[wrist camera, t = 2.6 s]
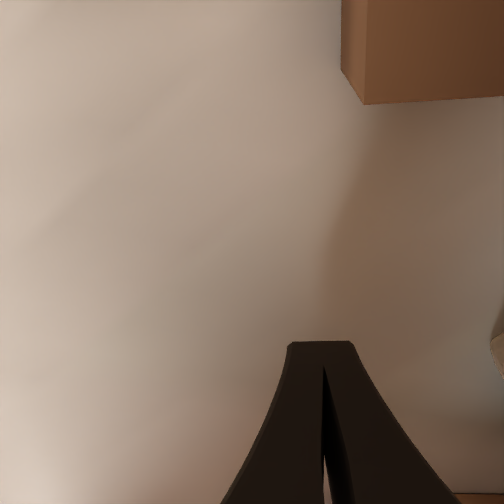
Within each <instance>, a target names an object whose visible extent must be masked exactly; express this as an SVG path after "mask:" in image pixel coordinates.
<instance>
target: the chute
mask: <svg viewBox="0 0 504 504" xmlns="http://www.w3.org/2000/svg"><path fill="white" fill-rule="evenodd" d="M341 71H342V72H343V74H344V75H345V77H346V78H347V80H348V81H349V83H350V84H351V86H352V87H353V89H354V90H355V92H356V94H357V95H358V97H359V98H360V100H361V101H362V103H363V104H364V105H370V104H385V103H401V102H416V101H432V100H447V99H463V98H479V97H494V96H504V0H342V8H341ZM454 495H455V496H456V498H457V499H458V500H459V501H460V502H461V503H462V504H504V495H498V494H454Z"/></svg>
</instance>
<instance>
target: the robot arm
mask: <svg viewBox="0 0 504 504" xmlns="http://www.w3.org/2000/svg"><path fill="white" fill-rule="evenodd" d="M324 456H325V462H326V468H327V474H328V480H329V486H330V492H331V498H332V504H462V503H461V502H460V501H459V500H458V499H457V498H456V496H455V495H454V494H453V493H452V492H451V491H450V489H449V488H448V487H447V486H446V485H445V484H444V482H443V481H442V480H441V479H440V478H439V476H438V475H437V474H436V473H435V471H434V470H433V469H432V468H431V466H430V465H429V464H428V462H427V461H426V460H425V459H424V457H423V456H422V455H421V453H420V452H419V451H418V449H417V448H416V447H415V445H414V444H413V443H412V441H411V440H410V439H409V437H408V436H407V434H406V433H405V432H404V430H403V429H402V427H401V426H400V424H399V423H398V422H397V420H396V419H395V417H394V415H393V414H392V412H391V411H390V409H389V408H388V406H387V405H386V403H385V402H384V400H383V399H382V397H381V395H380V394H379V392H378V391H377V389H376V387H375V386H374V384H373V382H372V380H371V379H370V377H369V375H368V373H367V371H366V370H365V368H364V366H363V364H362V362H361V360H360V358H359V356H358V354H357V351H356V349H355V347H354V345H353V344H352V343H351V342H350V341H308V342H292V343H290V344H289V345H288V346H287V354H286V359H285V364H284V368H283V371H282V375H281V378H280V381H279V384H278V387H277V390H276V392H275V395H274V398H273V400H272V403H271V405H270V408H269V410H268V413H267V415H266V418H265V420H264V422H263V424H262V427H261V429H260V431H259V433H258V435H257V437H256V439H255V441H254V444H253V446H252V448H251V450H250V452H249V454H248V456H247V458H246V460H245V461H244V463H243V465H242V467H241V469H240V471H239V473H238V474H237V476H236V478H235V480H234V481H233V483H232V485H231V487H230V488H229V490H228V492H227V494H226V495H225V497H224V498H223V500H222V502H221V503H220V504H324V493H323V483H324Z"/></svg>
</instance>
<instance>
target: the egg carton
mask: <svg viewBox="0 0 504 504" xmlns="http://www.w3.org/2000/svg"><path fill="white" fill-rule="evenodd" d="M490 350H491V353H492V356H493V358H494V363H495V365H496V367H497V368H498V370H499V372H500V374H501V376H502V378H503V379H504V332H503V333H502V334H500V335H499V336H497V337H496V338H494V339H493V340H492V341H491V344H490Z"/></svg>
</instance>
